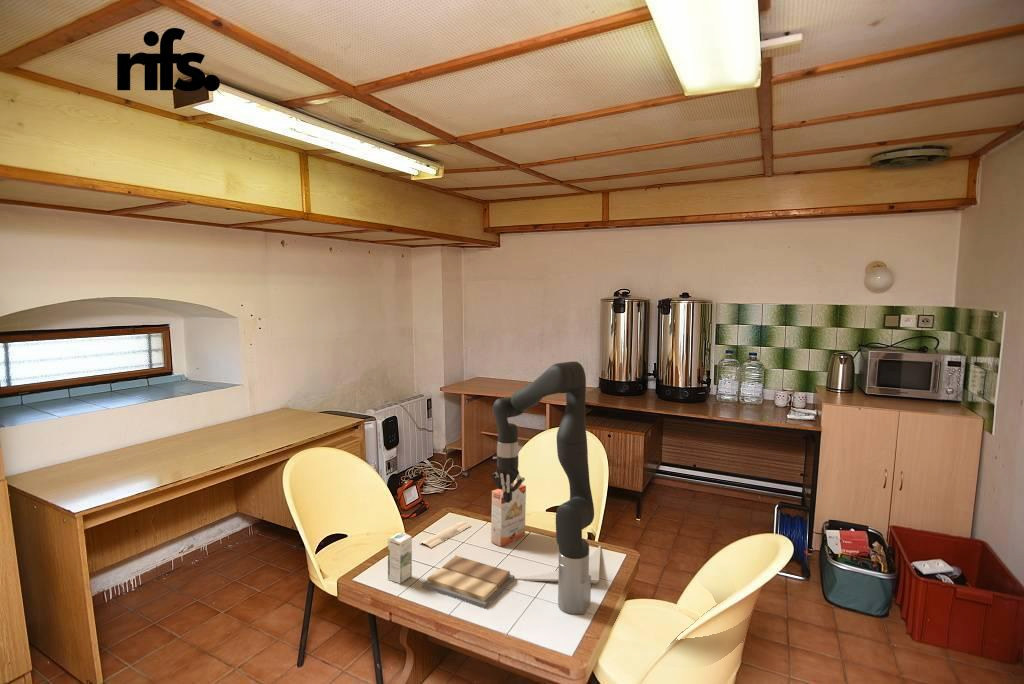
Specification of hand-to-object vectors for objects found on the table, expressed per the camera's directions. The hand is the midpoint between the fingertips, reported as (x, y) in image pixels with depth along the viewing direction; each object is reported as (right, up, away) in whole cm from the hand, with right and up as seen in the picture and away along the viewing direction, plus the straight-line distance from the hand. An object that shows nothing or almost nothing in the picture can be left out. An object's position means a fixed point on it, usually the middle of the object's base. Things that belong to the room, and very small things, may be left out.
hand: (507, 501), depth 181 cm
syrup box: (-36, -24, -8) cm, 44 cm away
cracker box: (0, -22, +21) cm, 30 cm away
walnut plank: (-11, -22, -7) cm, 25 cm away
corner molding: (+18, -24, +4) cm, 30 cm away
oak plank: (-15, -23, -14) cm, 31 cm away
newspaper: (-24, -22, +24) cm, 41 cm away
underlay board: (-13, -24, -11) cm, 29 cm away
